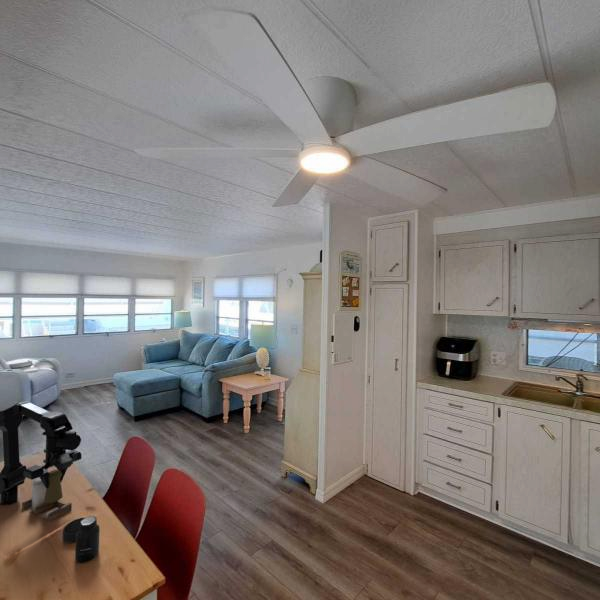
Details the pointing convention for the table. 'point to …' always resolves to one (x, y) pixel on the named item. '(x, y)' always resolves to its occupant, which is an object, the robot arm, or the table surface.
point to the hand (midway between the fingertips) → (53, 484)
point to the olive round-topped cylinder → (53, 487)
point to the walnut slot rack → (48, 509)
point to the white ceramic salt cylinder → (38, 493)
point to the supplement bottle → (87, 540)
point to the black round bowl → (71, 530)
